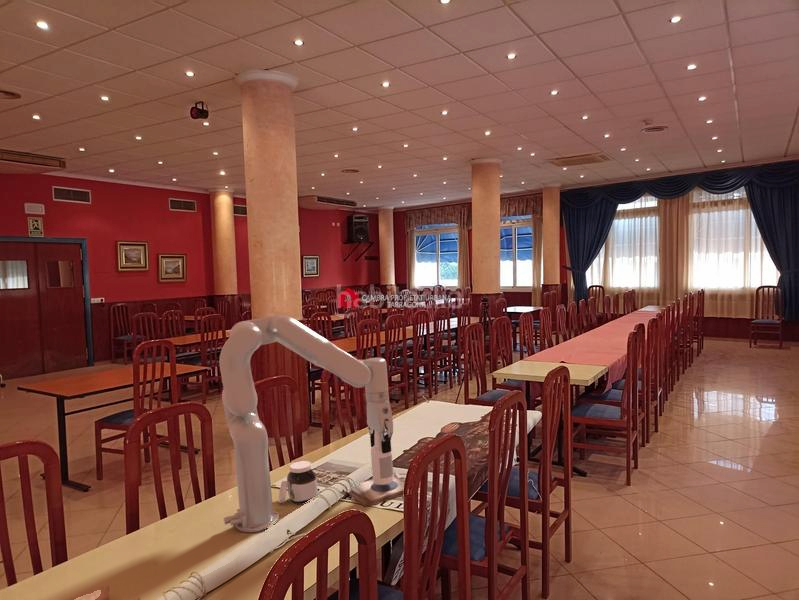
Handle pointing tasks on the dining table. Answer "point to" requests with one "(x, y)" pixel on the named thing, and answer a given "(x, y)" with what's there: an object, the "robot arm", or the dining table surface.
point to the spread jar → (299, 483)
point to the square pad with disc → (376, 491)
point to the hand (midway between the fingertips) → (380, 449)
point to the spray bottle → (381, 462)
